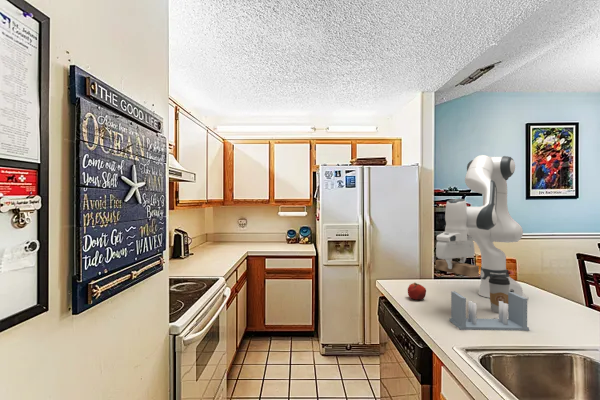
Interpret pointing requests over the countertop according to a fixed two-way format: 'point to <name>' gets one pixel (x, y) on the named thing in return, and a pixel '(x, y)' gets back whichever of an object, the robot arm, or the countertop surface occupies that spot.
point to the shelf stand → (509, 319)
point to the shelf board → (458, 268)
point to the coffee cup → (498, 291)
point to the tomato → (416, 291)
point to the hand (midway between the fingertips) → (455, 268)
